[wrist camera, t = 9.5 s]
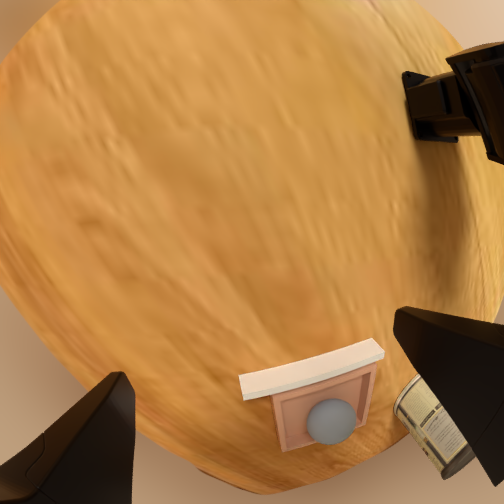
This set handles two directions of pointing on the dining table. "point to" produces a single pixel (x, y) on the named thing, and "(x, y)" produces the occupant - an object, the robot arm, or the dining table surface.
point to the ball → (331, 421)
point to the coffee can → (432, 428)
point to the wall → (309, 370)
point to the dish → (306, 397)
